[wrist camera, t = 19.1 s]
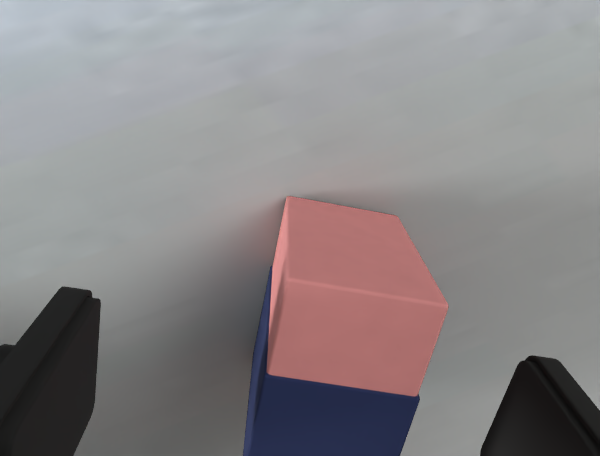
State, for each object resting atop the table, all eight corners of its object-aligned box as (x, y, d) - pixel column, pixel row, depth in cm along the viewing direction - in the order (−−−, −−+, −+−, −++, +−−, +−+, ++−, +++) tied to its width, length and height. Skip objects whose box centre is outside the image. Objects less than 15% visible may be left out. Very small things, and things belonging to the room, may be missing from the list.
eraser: (285, 193, 14) (284, 279, 9) (399, 214, 15) (453, 307, 10) (249, 369, 16) (235, 510, 12) (350, 384, 17) (375, 527, 12)
